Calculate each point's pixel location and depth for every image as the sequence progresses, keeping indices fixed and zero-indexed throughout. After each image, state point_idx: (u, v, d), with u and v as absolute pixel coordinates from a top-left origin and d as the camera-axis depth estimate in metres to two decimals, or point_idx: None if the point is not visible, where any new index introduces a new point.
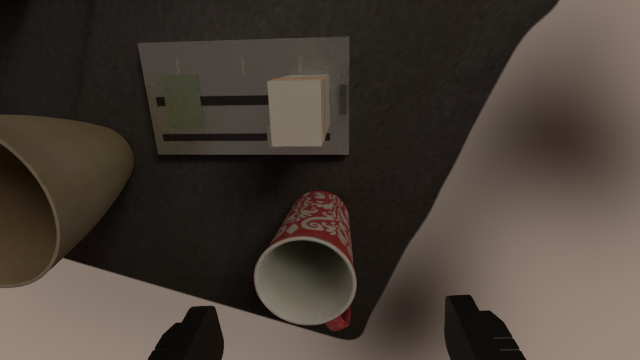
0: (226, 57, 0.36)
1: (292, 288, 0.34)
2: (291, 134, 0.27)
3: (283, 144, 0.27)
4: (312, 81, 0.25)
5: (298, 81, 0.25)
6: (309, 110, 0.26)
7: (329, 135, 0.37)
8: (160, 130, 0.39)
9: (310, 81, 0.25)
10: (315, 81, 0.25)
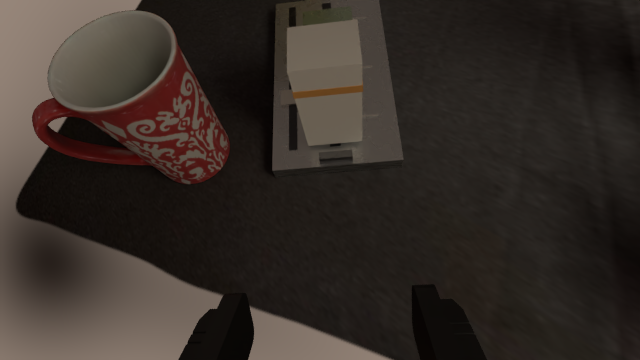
0: (371, 54, 0.36)
1: (107, 75, 0.27)
2: (300, 43, 0.24)
3: (289, 37, 0.24)
4: (360, 56, 0.23)
5: (359, 44, 0.23)
6: (328, 56, 0.23)
7: (295, 148, 0.32)
8: (299, 6, 0.40)
9: (360, 55, 0.23)
10: (360, 59, 0.23)
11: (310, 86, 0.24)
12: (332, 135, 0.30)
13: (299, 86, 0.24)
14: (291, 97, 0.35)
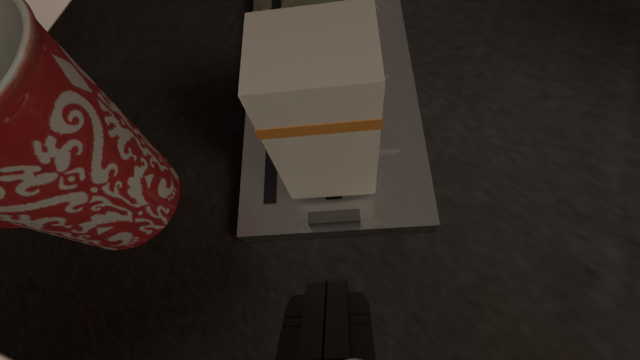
0: (387, 58, 0.25)
1: None
2: (266, 41, 0.13)
3: (247, 30, 0.13)
4: (380, 67, 0.12)
5: (378, 44, 0.12)
6: (318, 66, 0.12)
7: (272, 201, 0.21)
8: None
9: (380, 64, 0.12)
10: (381, 72, 0.11)
11: (286, 120, 0.13)
12: (329, 187, 0.19)
13: (266, 120, 0.13)
14: None
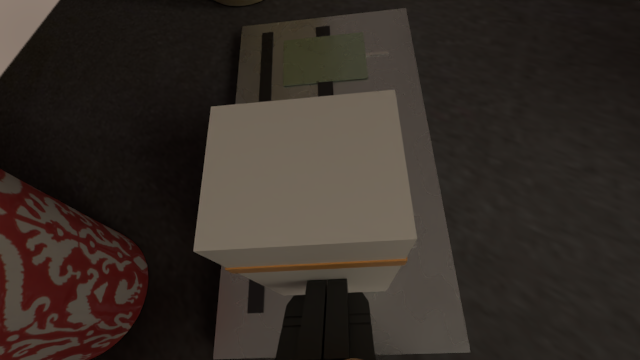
0: None
1: None
2: (239, 157, 0.09)
3: (213, 135, 0.09)
4: (408, 213, 0.08)
5: (403, 170, 0.08)
6: (315, 205, 0.08)
7: (258, 310, 0.17)
8: (279, 30, 0.25)
9: (408, 206, 0.08)
10: (410, 222, 0.08)
11: (269, 262, 0.09)
12: None
13: (240, 263, 0.09)
14: None
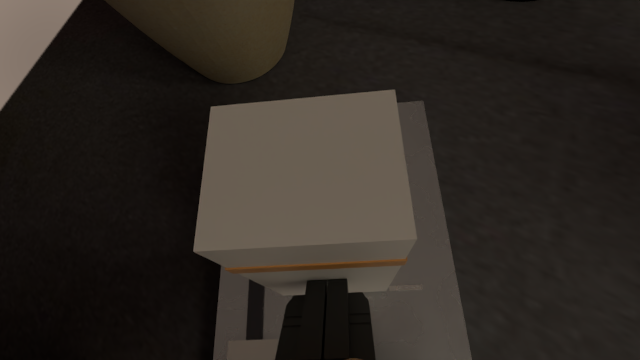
0: (418, 253, 0.17)
1: None
2: (239, 157, 0.09)
3: (212, 135, 0.09)
4: (408, 213, 0.08)
5: (403, 170, 0.08)
6: (314, 206, 0.08)
7: None
8: None
9: (408, 206, 0.08)
10: (410, 222, 0.08)
11: (269, 262, 0.09)
12: None
13: (240, 263, 0.09)
14: None
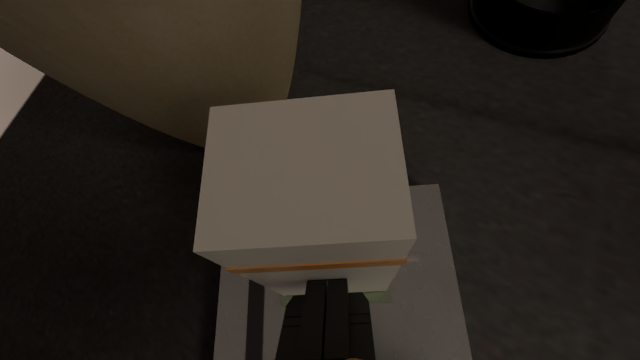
0: None
1: None
2: (238, 157, 0.09)
3: (212, 136, 0.09)
4: (408, 212, 0.08)
5: (403, 170, 0.08)
6: (314, 206, 0.08)
7: None
8: None
9: (407, 206, 0.08)
10: (409, 222, 0.08)
11: (269, 263, 0.09)
12: None
13: (240, 264, 0.09)
14: None
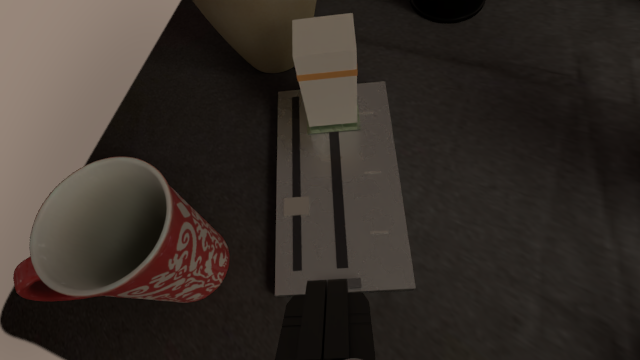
0: (379, 157, 0.34)
1: (96, 214, 0.25)
2: (303, 33, 0.28)
3: (294, 28, 0.28)
4: (354, 44, 0.27)
5: (353, 34, 0.27)
6: (327, 44, 0.27)
7: (299, 269, 0.30)
8: None
9: (354, 42, 0.27)
10: (354, 46, 0.27)
11: (312, 70, 0.28)
12: (330, 116, 0.34)
13: (302, 70, 0.28)
14: (295, 207, 0.33)
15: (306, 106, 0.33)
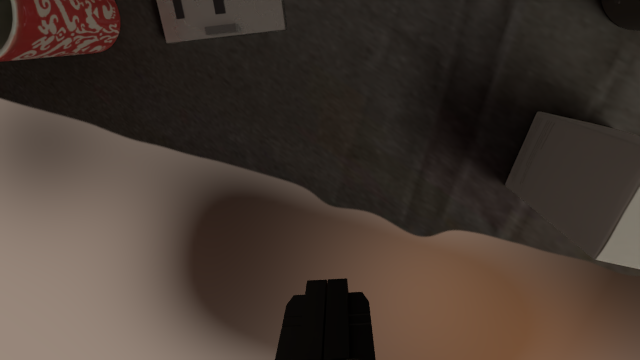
0: None
1: None
2: None
3: None
4: None
5: None
6: None
7: (182, 17, 0.33)
8: None
9: None
10: None
11: None
12: None
13: None
14: None
15: None
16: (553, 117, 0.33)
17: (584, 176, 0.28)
